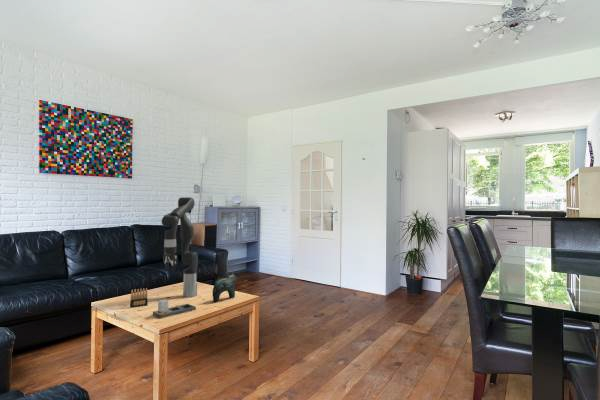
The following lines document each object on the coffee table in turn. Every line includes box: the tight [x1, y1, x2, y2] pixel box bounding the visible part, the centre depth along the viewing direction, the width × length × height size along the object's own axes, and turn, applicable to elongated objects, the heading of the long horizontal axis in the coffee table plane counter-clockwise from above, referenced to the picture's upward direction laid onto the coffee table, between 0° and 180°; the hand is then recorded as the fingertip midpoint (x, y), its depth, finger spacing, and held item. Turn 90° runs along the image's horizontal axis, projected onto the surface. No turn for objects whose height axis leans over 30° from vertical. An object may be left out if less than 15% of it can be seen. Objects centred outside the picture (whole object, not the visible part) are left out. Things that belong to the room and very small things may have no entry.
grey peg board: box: [152, 303, 197, 319], centre depth 214 cm, size 24×10×2 cm, turn 140°
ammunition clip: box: [129, 287, 149, 309], centre depth 225 cm, size 11×2×12 cm, turn 124°
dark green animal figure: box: [212, 271, 238, 303], centre depth 245 cm, size 20×6×20 cm, turn 141°
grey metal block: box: [157, 299, 169, 313], centre depth 208 cm, size 4×4×9 cm
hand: (170, 270), depth 221 cm, fingers open, 8 cm apart
